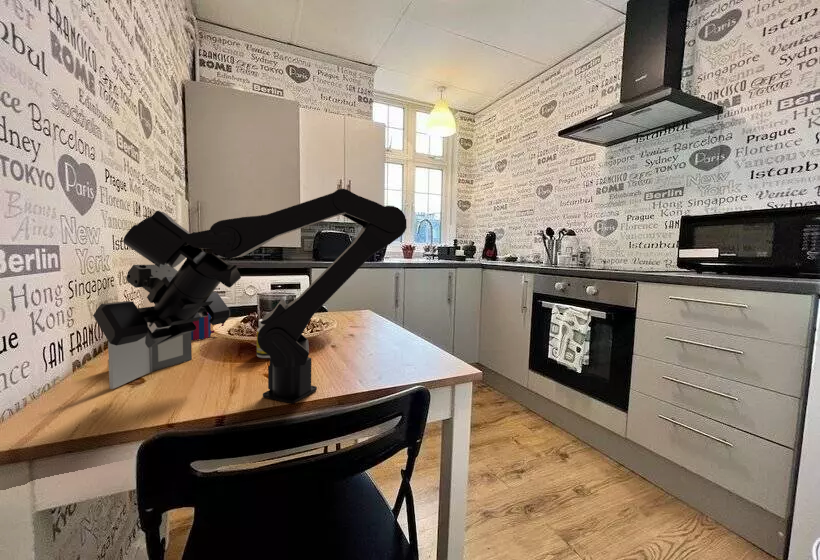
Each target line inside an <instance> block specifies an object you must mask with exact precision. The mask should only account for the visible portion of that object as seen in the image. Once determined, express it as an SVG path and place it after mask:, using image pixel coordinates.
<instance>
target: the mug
mask: <svg viewBox="0 0 820 560" xmlns="http://www.w3.org/2000/svg"><path fill="white" fill-rule="evenodd" d="M207 314H208V316H207V317H202V318H200V319H199V320H198V321H193V323H194V324H195V326H196V329H195V330H194V331H191V340H193V341H198V340H197V339H202V340H205V339H204V338H207V339H209V338H211V335H212V334H214V333H215V332H214V330H212V324H211V323H210V322H209V320H210V319H211V318H212V317H211V316H210V315H209V313H208V312H207ZM224 324H225V323H221V324H220V327H221V326H223V327H224ZM208 337H209V338H208Z"/></svg>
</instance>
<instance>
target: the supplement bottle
mask: <svg viewBox="0 0 820 560" xmlns="http://www.w3.org/2000/svg"><path fill="white" fill-rule="evenodd" d="M262 319H263V318H260V319H258V327H257V329H256V356H257V357H258V358H260V359H270V355H269V354H267V353H265V352H264V351H263V350H262V349H261V348H260V346H259V344H258V333H259V331H260V329H261V327H262V325H263V324H261V321H262Z"/></svg>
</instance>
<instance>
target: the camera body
mask: <svg viewBox="0 0 820 560" xmlns="http://www.w3.org/2000/svg"><path fill="white" fill-rule="evenodd" d="M192 346H193V345H192V341H191V332H188V333H186V334H183V335H181V336H178V337H175V338H173V339H170V340H168V341H166V342H163V343H161V344H159V345H156V346H154V347H152V372H156V371H159V370H162V369H165V368H169V367H171V366H176V365H178V364H182V363H186V362H189V361H192V360H193V358H192V356H193V355H192V352H193V351H192Z"/></svg>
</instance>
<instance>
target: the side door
mask: <svg viewBox="0 0 820 560" xmlns="http://www.w3.org/2000/svg"><path fill="white" fill-rule="evenodd" d="M145 338H146V336H145V337H144V338H142V339H140V340H138V341H136V342H131V343H127V344H122V345H117V346H116V345H113V344H110V343H109V341H107V347H108V348H107V350H108V351H107V352H108V353H107V354H108V357H107V358H108V359H107V370H108V376H109V378H108V379H109V389H111V390H114V389H116V388H119V387H121V386H123V385H125V384H127V383H129V382H133V381H134V380H136V379H138V378H141V377H143V376H145V375H147V374H150V373H152V372H153V371H152V347H150V348H148V347H147V345H146V344H145Z"/></svg>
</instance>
